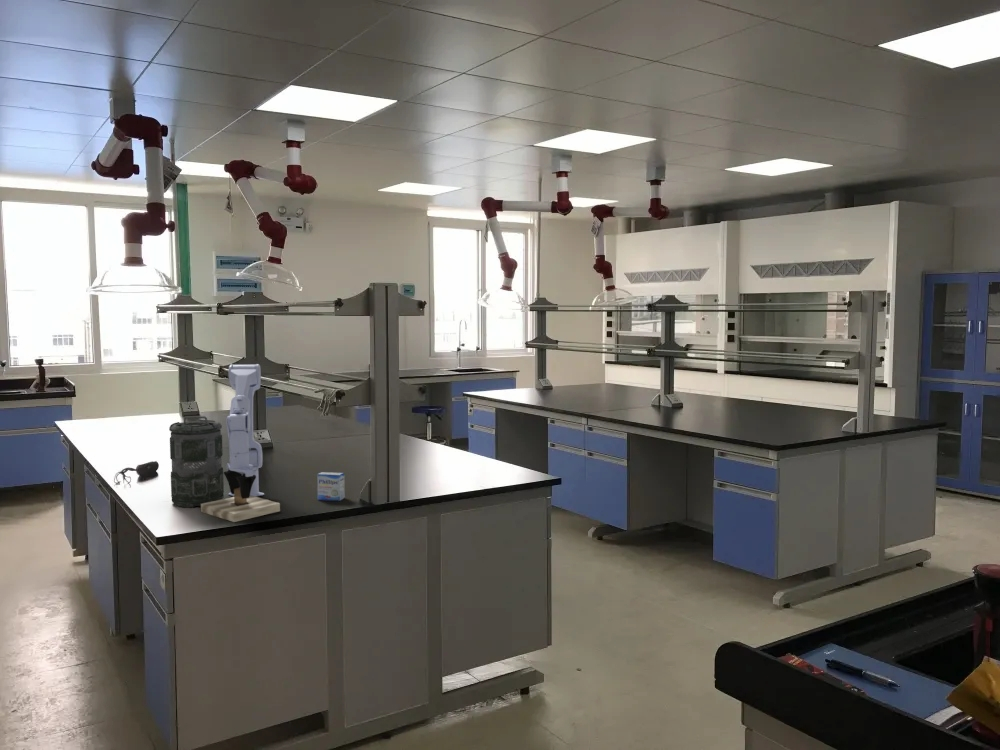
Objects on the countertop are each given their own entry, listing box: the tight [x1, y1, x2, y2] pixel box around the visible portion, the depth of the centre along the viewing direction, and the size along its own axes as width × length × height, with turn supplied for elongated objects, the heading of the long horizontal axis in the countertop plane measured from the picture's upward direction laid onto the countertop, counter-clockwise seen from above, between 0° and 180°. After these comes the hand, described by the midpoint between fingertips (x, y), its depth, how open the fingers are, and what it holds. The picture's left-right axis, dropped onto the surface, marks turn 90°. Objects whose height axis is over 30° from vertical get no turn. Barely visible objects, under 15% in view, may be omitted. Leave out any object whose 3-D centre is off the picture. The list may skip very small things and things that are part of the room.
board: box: [200, 495, 281, 523], centre depth 240 cm, size 18×16×2 cm
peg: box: [233, 488, 247, 506], centre depth 240 cm, size 4×4×7 cm
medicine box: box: [317, 471, 346, 502], centre depth 256 cm, size 8×4×9 cm, turn 81°
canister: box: [168, 415, 225, 508], centre depth 251 cm, size 16×16×28 cm
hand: (240, 495), depth 240 cm, fingers open, 7 cm apart
